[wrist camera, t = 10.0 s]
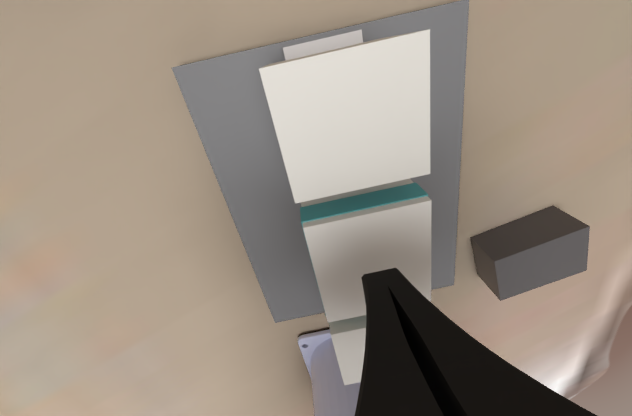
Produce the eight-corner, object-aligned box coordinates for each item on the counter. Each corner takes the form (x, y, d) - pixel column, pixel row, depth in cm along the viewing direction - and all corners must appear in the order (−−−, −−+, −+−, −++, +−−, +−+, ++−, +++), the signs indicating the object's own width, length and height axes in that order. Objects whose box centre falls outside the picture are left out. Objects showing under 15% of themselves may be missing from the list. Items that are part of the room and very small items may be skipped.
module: (396, 241, 18) (432, 301, 13) (317, 257, 18) (327, 323, 13) (390, 157, 15) (432, 199, 11) (297, 177, 15) (301, 227, 11)
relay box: (550, 244, 22) (586, 270, 19) (475, 272, 23) (500, 300, 20) (550, 204, 20) (589, 226, 18) (468, 235, 21) (494, 261, 18)
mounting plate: (447, 275, 22) (507, 359, 16) (275, 312, 23) (271, 407, 16) (457, 2, 14) (595, -42, 8) (179, 67, 14) (92, 75, 8)
